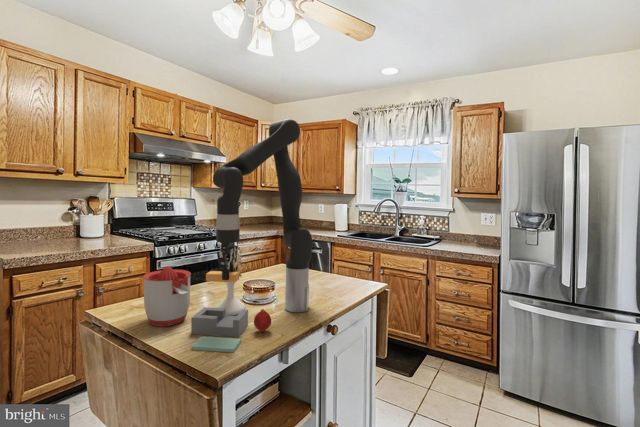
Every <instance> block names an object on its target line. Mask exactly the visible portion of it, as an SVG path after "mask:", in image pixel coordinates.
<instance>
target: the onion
mask: <svg viewBox="0 0 640 427" xmlns="http://www.w3.org/2000/svg"><path fill="white" fill-rule="evenodd" d="M271 324H272V317H271V315H270V314H269V313H268V312H267V311H266V310H265V309H264V308H261V310H260V311H258V312H257V313H256V314H255V316H254V318H253V325H254V327H255V329H257V330H258V331H259V332H261V333H264V332H265V331H267V330H268V329H269V328H270V327H271Z"/></svg>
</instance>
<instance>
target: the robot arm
mask: <svg viewBox="0 0 640 427" xmlns="http://www.w3.org/2000/svg"><path fill="white" fill-rule="evenodd" d="M300 136H301V127H300V125H299V123H298V122H297V121H296V120H295V119H292V118H285V119H284V118H283V119H281V120H278V121H277V120H276V121H273V122H272V123H271V124H270V125H269V127H268V137H267V138H264V139H263V140H261V141H259V142H257V143H255V144H254V145H252V146H250V147H249V148H247V149H246V150H245V151H243V152H241V154H239V156H237V157H236V158H234V159H232V160H230V161H229V162H227V163H225V164H222V165H221V166H220V167H218V168H217V169H216V170H215V171H214V173H213V175H212V182H213V184H214V185H215V186H216V187H217V188H219V189H223V191H222V192H223V193H222V196H219V197H218V198H217V200H216V212H217V213H216V219H215V222H216V224H215V229H216V231H215V232H216V233H215V234H216V237H215V239H216V242H217V243H218V244H219V243H220V244H221V246H220V249H219V251H217V252H216V255H217V256H216V257H217V262H218V268H219V269H221V271H222V280H229V272H235V268H234V266H233V265H235V263H236V261H237V252H239V251H238V249H239V245H236V243H238V242H240V237H241V235H240V232H241V230H240V229H241V228H240V221H241V220H240V199H241V196H242V191H243V188H244V176H248V175H251V174H252V173H253V172H254V171H255V170H256V169H258V168H259V167H260V166H261V165H262V164H264V162H266V161H267V160H269V159H270V158H271V157H272V156H273V159H274V166H275V171H276V177H277V187H278V193H279V201H280V207H281V208H280V209H281V214H282V225H283V226H282V227H283V228H282V229H283V234H282V236H283V242H284V244H285V245H286V246H287V247H288V248H289V249H290V252H289V255H290V256H289V257H288V258H287V259H286V261H285V296H284V298H285V299H284V301H285V302H284V308H285V309H284V310H286V312H291V313H303V312H308V310H309V301H310V297H309V296H310V283H309V280H310V279H309V278H310V277H309V275H310V274H309V272H310V262H311V259H312V252H313V251H312V250H313V237H312V233H311V232H310V231H309V230H308V229H306V228H304V227H302V224H301V217H300V211H301V210H300V209H301V205H302V200H303V186H302V178H301V175H300V174H299V171H298V169H297V168H296V166H295V164H294V163H293V162H292V160H291V158H290V157H291V156H290V154H289V148H288V146H289V145H291V144H293V143H295V142H296V141H298V140H299V138H300Z"/></svg>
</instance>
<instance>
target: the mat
mask: <svg viewBox="0 0 640 427" xmlns="http://www.w3.org/2000/svg"><path fill="white" fill-rule="evenodd" d="M241 343H242V338H235V337H234V338H233V337H217V336H216V337H215V336H205V335H204V336H200V337H199V338H198V339H197V340H196V341H195V342H193V344H192V345H191V347H190V348H191V350H192V351H193V350H194V351H205V352H218V353H219V352H222V353H235V351H236V350H238V347H239V346H240V345H241Z"/></svg>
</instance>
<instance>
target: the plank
mask: <svg viewBox="0 0 640 427" xmlns="http://www.w3.org/2000/svg"><path fill="white" fill-rule="evenodd" d="M239 280H240V277H239V272H235V271H234V272H229V280H222V270H219V271H218V270H210V271H208V272H207V273H205V282H215V283H217V282H218V283H227V282H235V283H237V282H238V281H239Z"/></svg>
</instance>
